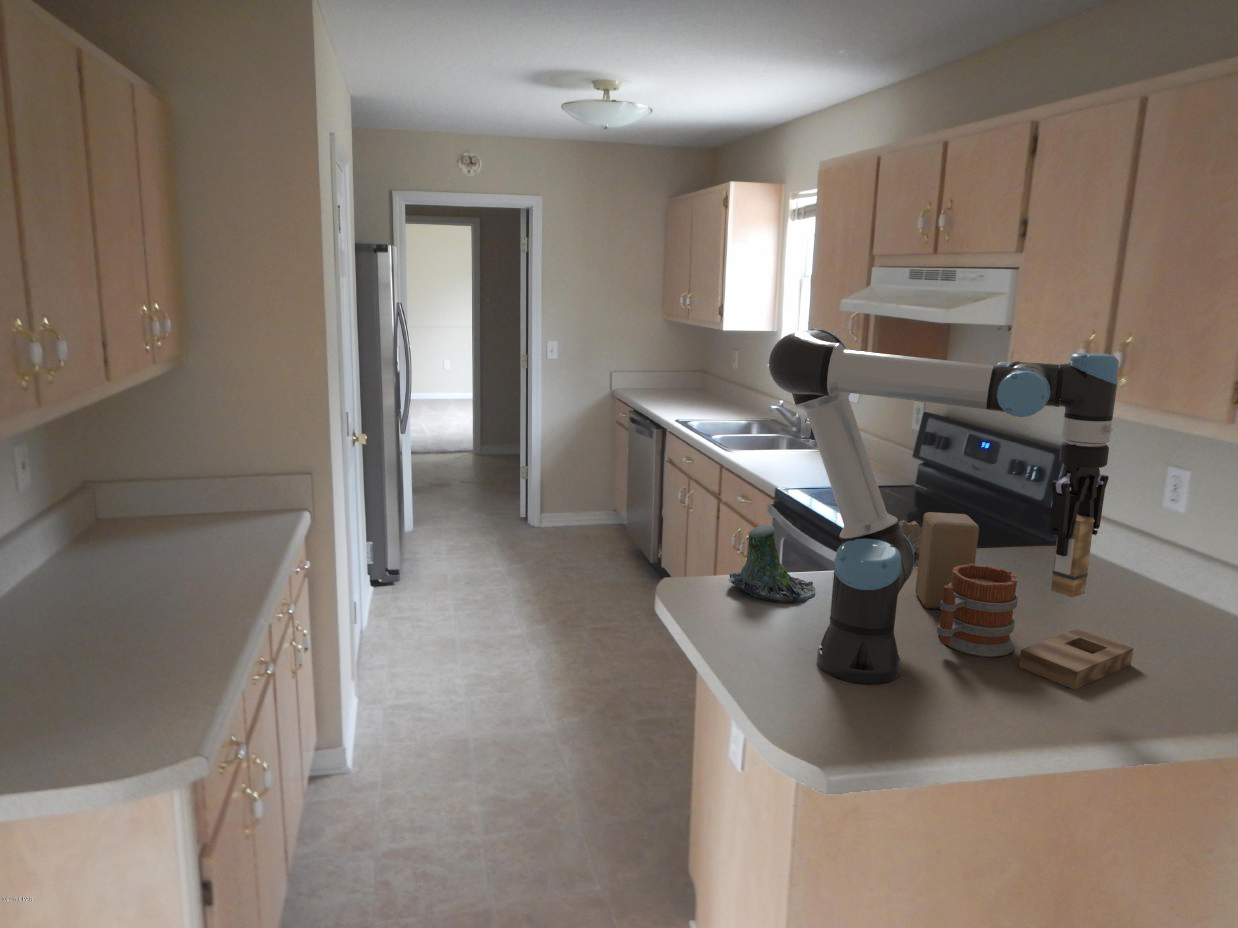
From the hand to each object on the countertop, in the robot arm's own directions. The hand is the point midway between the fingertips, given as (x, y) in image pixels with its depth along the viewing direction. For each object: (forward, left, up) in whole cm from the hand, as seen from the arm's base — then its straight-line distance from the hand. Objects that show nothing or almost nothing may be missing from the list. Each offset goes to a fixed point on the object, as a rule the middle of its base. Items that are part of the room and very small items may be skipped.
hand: (1070, 569), depth 160 cm
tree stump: (-13, +61, -22) cm, 66 cm away
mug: (-1, +18, -22) cm, 28 cm away
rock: (+37, +61, -22) cm, 74 cm away
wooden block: (+15, +36, -22) cm, 44 cm away
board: (+9, +1, -21) cm, 23 cm away
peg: (0, 0, -4) cm, 4 cm away
